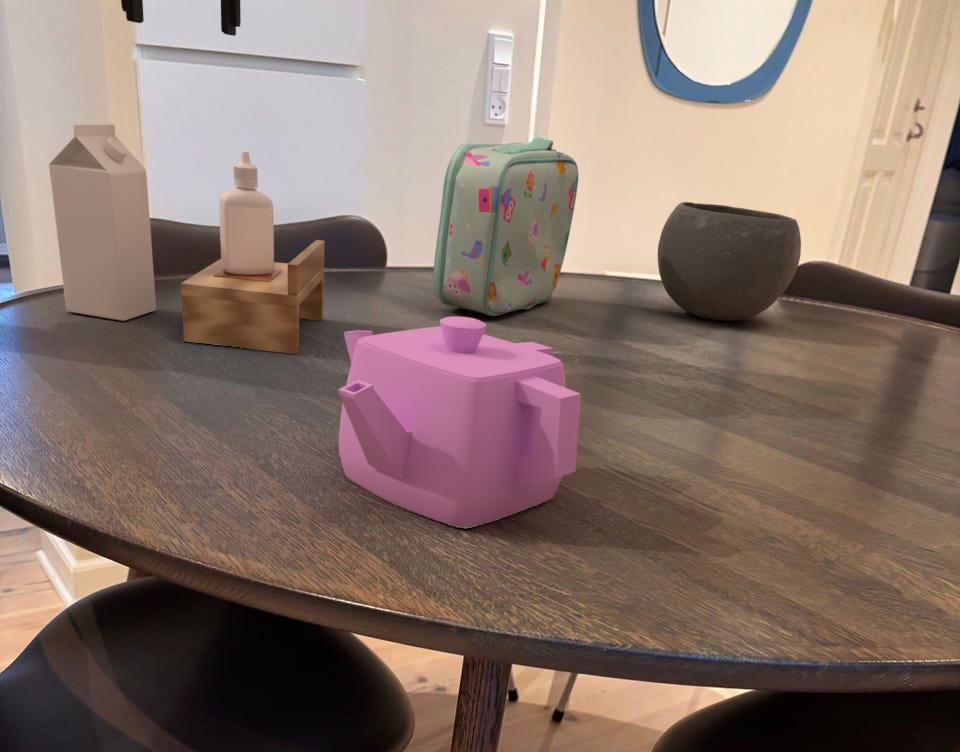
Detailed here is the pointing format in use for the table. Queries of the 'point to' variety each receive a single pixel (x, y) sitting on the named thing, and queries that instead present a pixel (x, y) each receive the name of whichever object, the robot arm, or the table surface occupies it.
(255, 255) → the eye dropper bottle
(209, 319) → the wooden toy chair
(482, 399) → the teakettle
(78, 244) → the milk carton
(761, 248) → the bowl
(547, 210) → the lunch box
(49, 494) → the table surface
